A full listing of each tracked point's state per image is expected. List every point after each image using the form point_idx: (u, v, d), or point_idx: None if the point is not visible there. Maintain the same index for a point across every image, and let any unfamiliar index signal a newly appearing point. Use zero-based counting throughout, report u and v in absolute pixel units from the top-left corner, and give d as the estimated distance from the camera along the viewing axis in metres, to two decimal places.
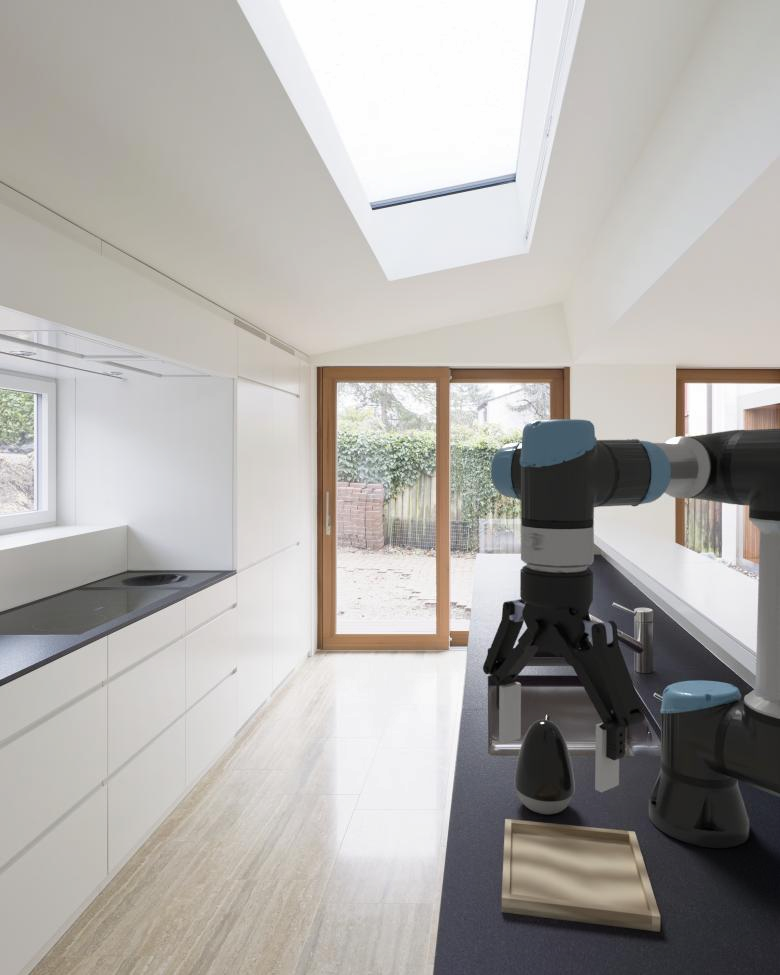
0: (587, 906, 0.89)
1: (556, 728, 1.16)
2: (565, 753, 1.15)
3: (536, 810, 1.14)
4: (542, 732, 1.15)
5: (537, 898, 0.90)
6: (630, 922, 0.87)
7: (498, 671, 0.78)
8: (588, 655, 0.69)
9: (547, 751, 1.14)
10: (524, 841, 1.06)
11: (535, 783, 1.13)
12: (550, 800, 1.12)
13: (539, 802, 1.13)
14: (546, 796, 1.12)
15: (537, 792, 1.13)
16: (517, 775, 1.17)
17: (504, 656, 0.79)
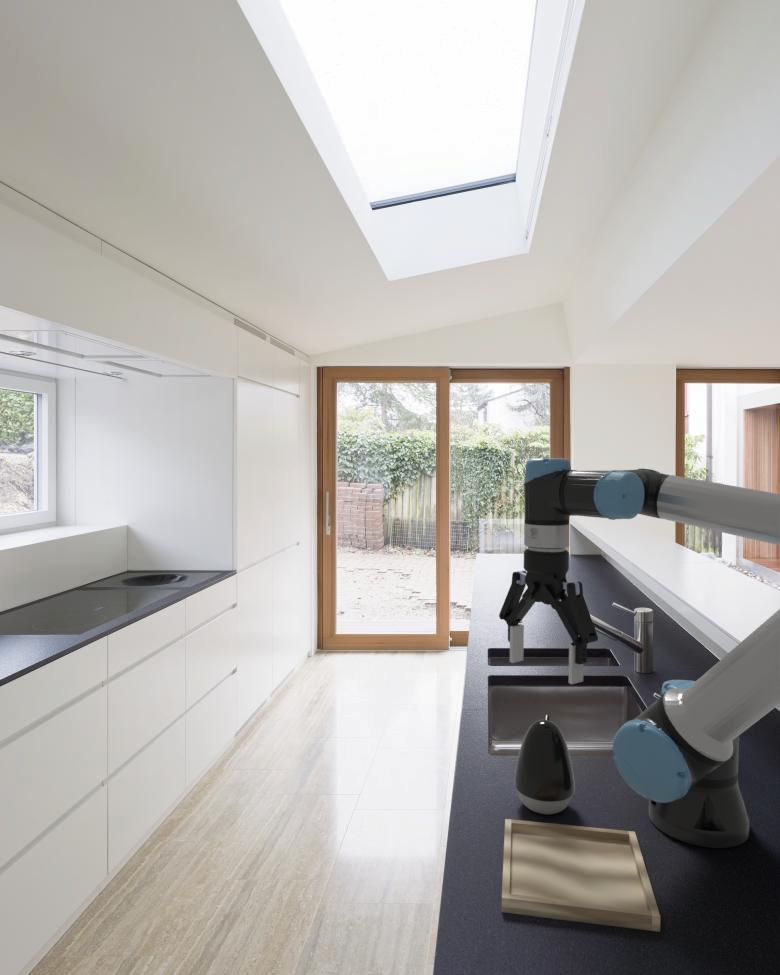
0: (587, 906, 0.89)
1: (556, 728, 1.16)
2: (565, 753, 1.15)
3: (536, 810, 1.14)
4: (542, 732, 1.15)
5: (537, 898, 0.90)
6: (630, 922, 0.87)
7: (509, 617, 1.22)
8: (565, 603, 1.13)
9: (547, 751, 1.14)
10: (524, 841, 1.06)
11: (535, 783, 1.13)
12: (550, 800, 1.12)
13: (539, 802, 1.13)
14: (546, 796, 1.12)
15: (537, 792, 1.13)
16: (517, 775, 1.17)
17: (513, 607, 1.23)
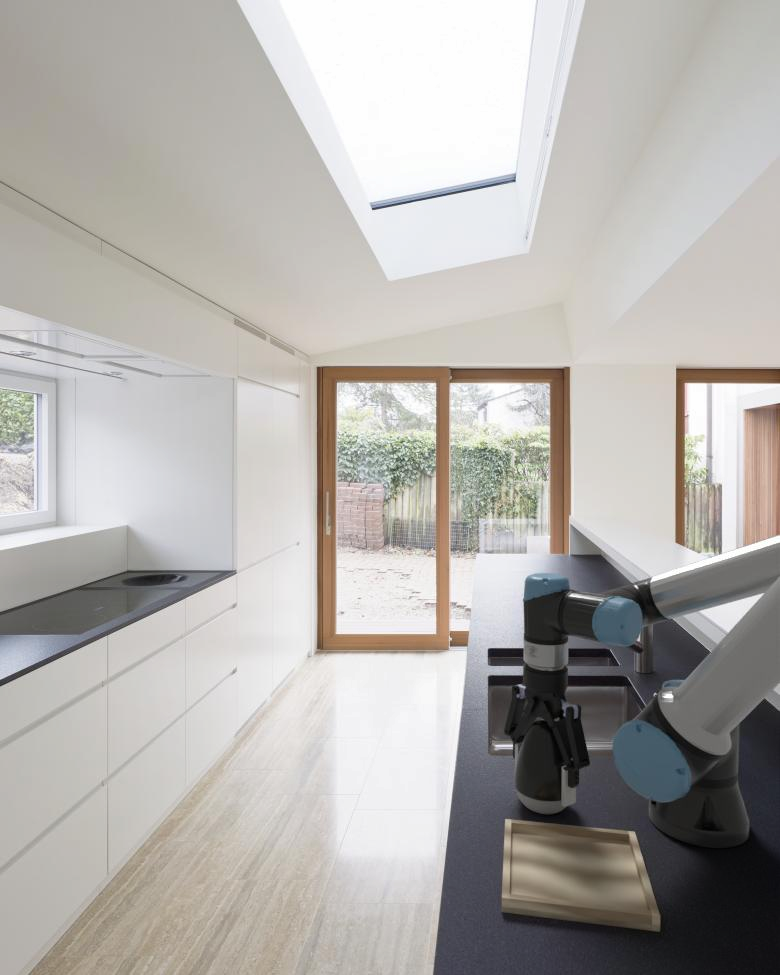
0: (587, 906, 0.89)
1: None
2: None
3: (536, 810, 1.14)
4: (542, 732, 1.15)
5: (537, 898, 0.90)
6: (630, 922, 0.87)
7: (513, 734, 1.22)
8: (562, 722, 1.14)
9: (547, 751, 1.14)
10: (524, 841, 1.06)
11: (535, 783, 1.13)
12: (550, 800, 1.12)
13: (539, 801, 1.13)
14: (546, 796, 1.12)
15: (537, 792, 1.13)
16: (516, 775, 1.17)
17: (517, 722, 1.23)
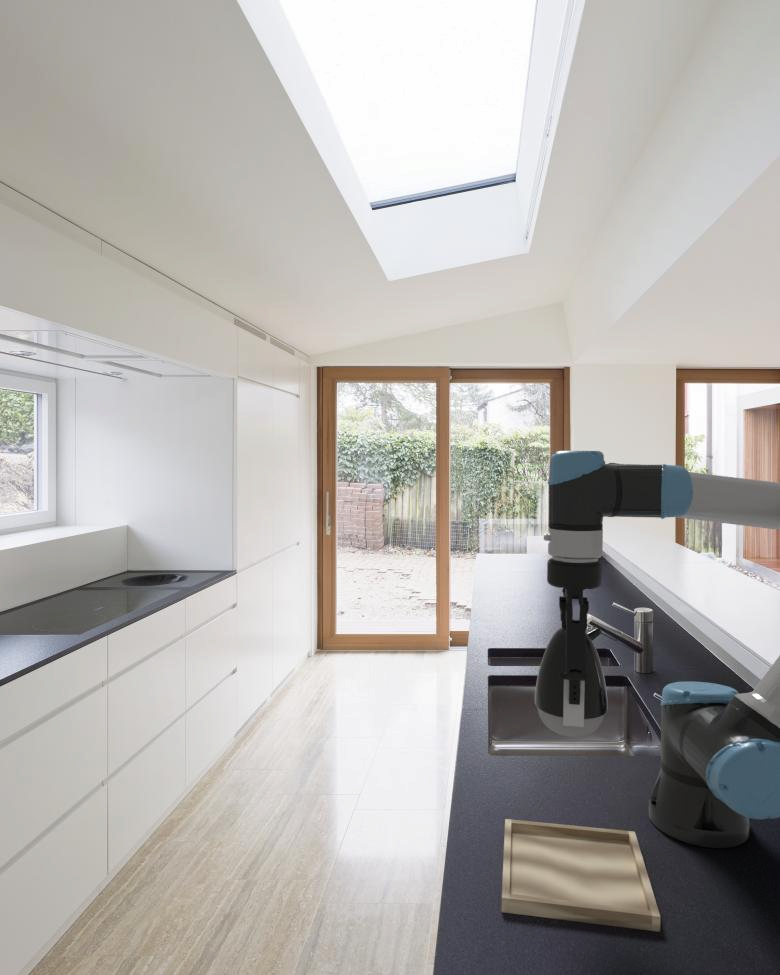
0: (587, 906, 0.89)
1: None
2: None
3: None
4: (558, 635, 0.97)
5: (537, 898, 0.90)
6: (630, 922, 0.87)
7: None
8: None
9: (555, 656, 0.96)
10: (524, 841, 1.06)
11: (539, 689, 0.97)
12: (550, 713, 0.95)
13: (543, 713, 0.97)
14: (546, 706, 0.95)
15: (539, 700, 0.97)
16: None
17: None
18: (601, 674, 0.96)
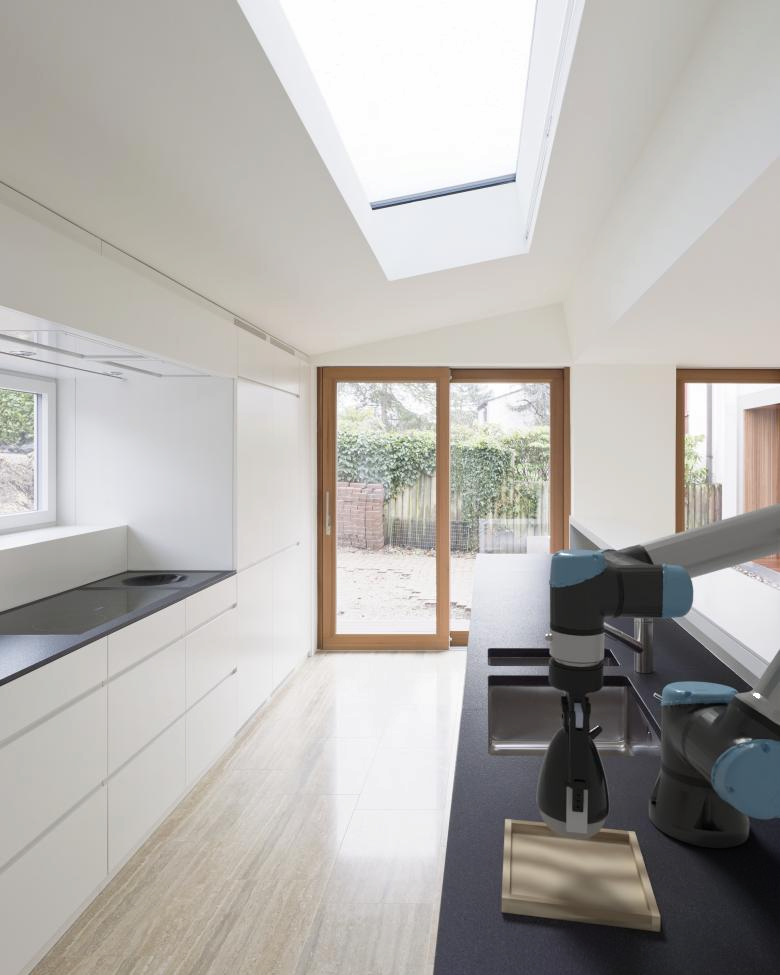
0: (587, 906, 0.89)
1: None
2: None
3: (547, 825, 0.97)
4: (560, 737, 0.97)
5: (537, 898, 0.90)
6: (630, 922, 0.87)
7: None
8: None
9: (557, 759, 0.95)
10: (524, 841, 1.06)
11: (541, 791, 0.97)
12: (552, 817, 0.94)
13: (545, 815, 0.96)
14: (548, 810, 0.95)
15: (542, 802, 0.96)
16: None
17: None
18: (603, 776, 0.95)
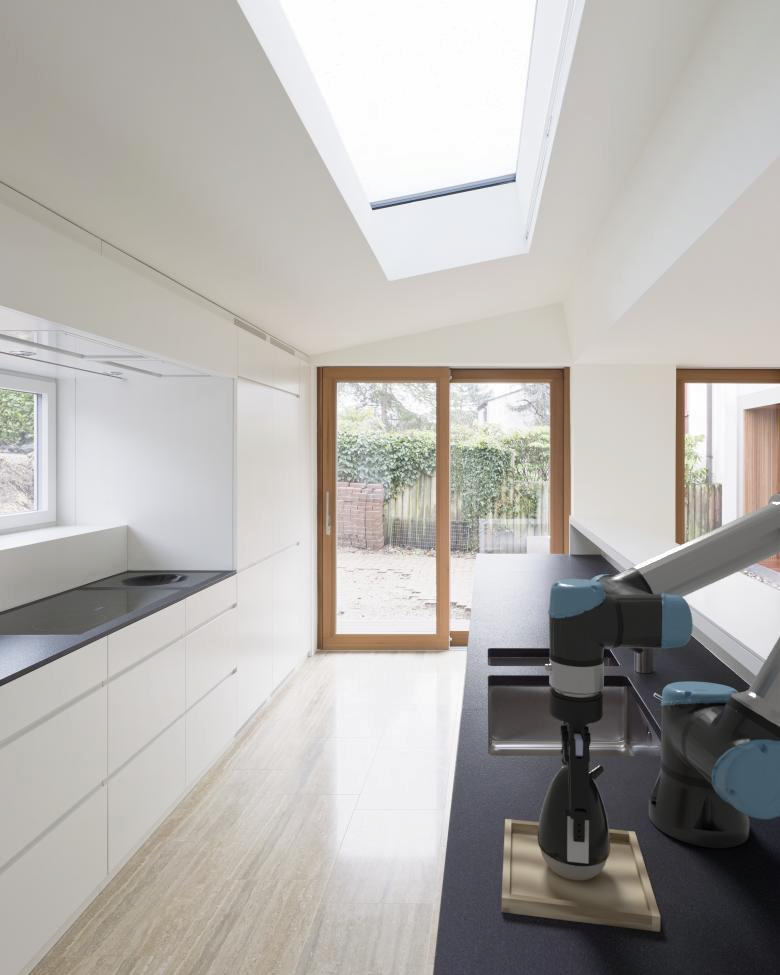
0: (587, 906, 0.89)
1: None
2: None
3: None
4: (561, 777, 0.97)
5: (537, 898, 0.90)
6: (630, 922, 0.87)
7: None
8: None
9: (559, 800, 0.96)
10: (524, 841, 1.06)
11: (542, 831, 0.97)
12: (553, 857, 0.95)
13: (546, 855, 0.96)
14: (549, 851, 0.95)
15: (543, 842, 0.97)
16: None
17: None
18: (604, 817, 0.96)
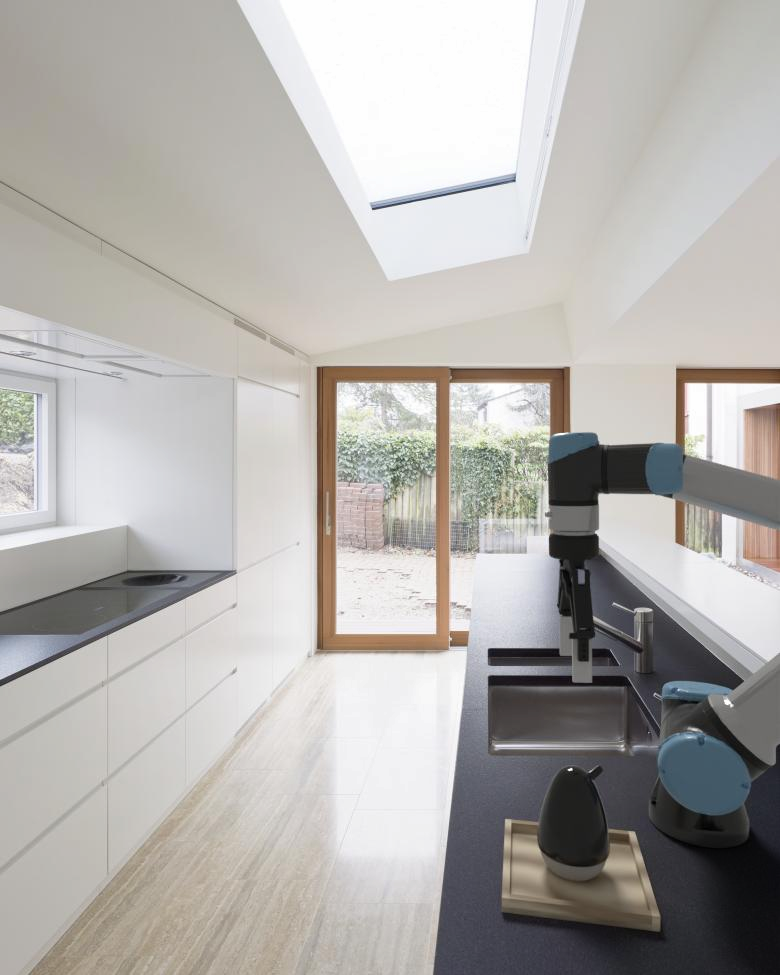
0: (587, 906, 0.89)
1: (580, 780, 0.96)
2: (583, 813, 0.94)
3: None
4: (560, 778, 0.97)
5: (537, 898, 0.90)
6: (630, 922, 0.87)
7: (559, 606, 1.13)
8: None
9: (558, 801, 0.96)
10: (524, 841, 1.06)
11: (542, 832, 0.97)
12: (553, 859, 0.95)
13: (546, 856, 0.96)
14: (549, 852, 0.95)
15: (542, 843, 0.96)
16: None
17: None
18: (603, 818, 0.96)
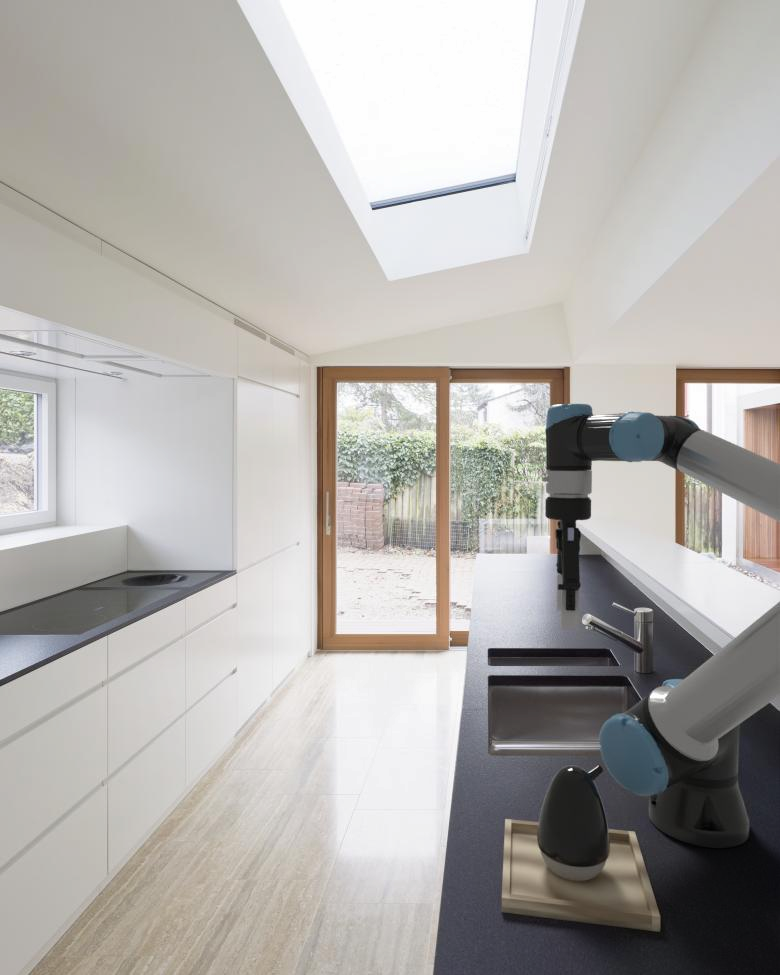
0: (587, 906, 0.89)
1: (580, 780, 0.96)
2: (583, 813, 0.94)
3: None
4: (560, 778, 0.97)
5: (537, 898, 0.90)
6: (630, 922, 0.87)
7: None
8: None
9: (558, 801, 0.96)
10: (524, 841, 1.06)
11: (542, 832, 0.97)
12: (553, 859, 0.95)
13: (546, 856, 0.96)
14: (549, 852, 0.95)
15: (542, 843, 0.96)
16: None
17: None
18: (603, 818, 0.96)
